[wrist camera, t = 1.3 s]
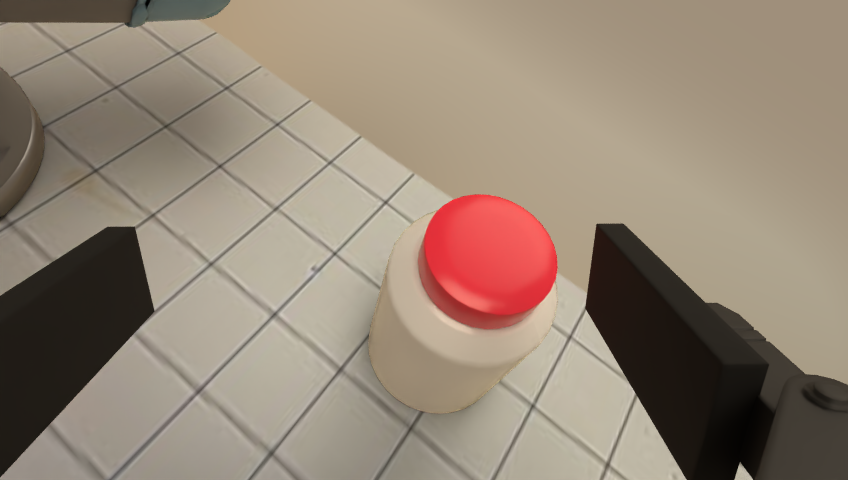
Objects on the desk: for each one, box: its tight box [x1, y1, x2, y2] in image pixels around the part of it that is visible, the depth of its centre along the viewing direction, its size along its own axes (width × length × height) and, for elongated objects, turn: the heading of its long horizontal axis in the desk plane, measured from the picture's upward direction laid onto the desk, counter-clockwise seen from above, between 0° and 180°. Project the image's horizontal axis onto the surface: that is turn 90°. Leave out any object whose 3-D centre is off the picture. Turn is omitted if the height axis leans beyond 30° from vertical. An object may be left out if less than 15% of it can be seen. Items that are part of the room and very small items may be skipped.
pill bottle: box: [368, 195, 558, 414], centre depth 25 cm, size 8×8×11 cm
